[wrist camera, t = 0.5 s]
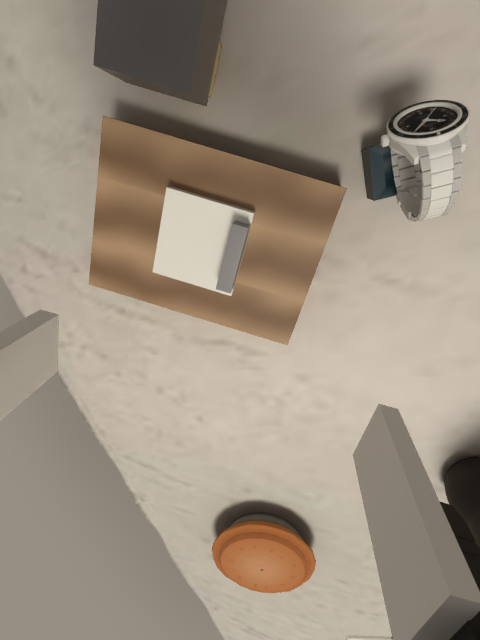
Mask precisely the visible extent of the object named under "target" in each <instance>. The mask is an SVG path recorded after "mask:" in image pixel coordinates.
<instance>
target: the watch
mask: <svg viewBox="0 0 480 640" xmlns="http://www.w3.org/2000/svg"><path fill="white" fill-rule="evenodd" d="M469 117H470V112H469V110H468V108H467V107H466V106H464V105H463V104H461V103H458V102H455V101H449V100H433V101H426V102H421V103H417V104H414V105H411V106H408V107H406V108H404V109H402V110H400V111H398V112H397V113H395V114H394V115H393V116H392V117H391V118H390V119H389V120H388V122H387V134H385V135H381V144H379V145H377V146H376V145H375V146H372V147H370V148H367V149H363V150H361V152H362V160H363V168H364V176H365V184H366V192H367V198H368V199H371V200H374V201H375V200H379V199H383V198H387V197H391V196H395V195H397V196H396V197H397V200H398V201H397V202H398V205H400V207H401V209H402V211H403V212H404V214H405V215H406V217H407V218H408V220H409V221H415V222H417V221H421V220H426V219H430V218H434V217H438V216H443V215H446V214H448V213H449V212H450V210H451V209H452V208H453V206H454V204H455V202H456V200H457V197H458V194H459V189H460V184H461V175H462V162H461V161H462V152H464V151H465V149H466V141H467V123H468V121H469ZM458 162H460V163H458ZM454 163H456V164H454Z"/></svg>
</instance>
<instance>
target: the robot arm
mask: <svg viewBox="0 0 480 640" xmlns="http://www.w3.org/2000/svg"><path fill="white" fill-rule="evenodd" d="M58 326H59V315H58V314H55V313H51V312H47V311H44V310H39V311H37V312H35V313H33V314H32V315H30V316H28V317H26V318H24V319H23V320H21V321H19V322H17V323H15V324H14V325H12V326H10V327H8V328H6V329H5V330H3V331H1V332H0V420H2V419H3V418H4V417H5V416H6V415H7V414H9V413H10V412H11V411H12V410H13V409H14V408H15V407H17V406H18V405H19V404H20V403H21V402H22V401H24V400H25V399H26V398H27V397H28V396H29V395H30V394H32V393H33V392H34V391H35V390H36V389H38V388H39V387H40V386H41V385H42V384H43V383H44V382H46V381H47V380H48V379H49V378H50V377H52V376H53V375H54V374H55V373H56V372H57V371H58ZM353 457H354V462H355V467H356V471H357V476H358V480H359V485H360V490H361V494H362V499H363V504H364V508H365V513H366V517H367V522H368V527H369V531H370V536H371V541H372V545H373V550H374V554H375V559H376V564H377V568H378V573H379V577H380V582H381V587H382V591H383V596H384V601H385V605H386V610H387V614H388V619H389V624H390V628H391V633H392V637H393V640H480V548H479V546H478V545H476V540H475V538H474V536H473V534H472V532H471V530H470V528H469V526H468V524H467V523H466V521H465V520H464V519H463V518H462V516H461V515H460V514H459V513H458V512H457V510H456V509H455V508H454V507H453V506H452V505H449V504H446V503H442V502H439V500H438V497H437V495H436V493H435V491H434V488H433V486H432V484H431V482H430V479H429V477H428V475H427V473H426V471H425V468H424V466H423V464H422V462H421V459H420V457H419V455H418V453H417V450H416V448H415V446H414V444H413V441H412V439H411V437H410V435H409V433H408V430H407V428H406V426H405V424H404V421H403V419H402V417H401V415H400V412H399V410H398V409H396V408H392V407H388V406H385V405H381V404H378V406H377V408H376V410H375V412H374V414H373V416H372V418H371V420H370V422H369V424H368V426H367V428H366V430H365V432H364V434H363V436H362V438H361V440H360V442H359V444H358V446H357V448H356V450H355V452H354V454H353Z"/></svg>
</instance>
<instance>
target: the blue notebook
mask: <svg viewBox="0 0 480 640" xmlns="http://www.w3.org/2000/svg"><path fill="white" fill-rule="evenodd" d="M346 640H393V637H385V636H359V635H348V636H346Z"/></svg>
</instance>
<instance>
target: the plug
mask: <svg viewBox="0 0 480 640" xmlns="http://www.w3.org/2000/svg"><path fill="white" fill-rule="evenodd" d="M226 4H227V0H98V9H97V24H96V38H95V53H94V66H96V67H98V68H100V69H102V70H104V71H106V72H108V73H110V74H111V75H113V76H115V77H117V78H119V79H121V80H123V81H125V82H127V83H130V84H133V85H137V86H140V87H143V88H147V89H150V90H153V91H157V92H160V93H163V94H167V95H170V96H174V97H177V98H180V99H184V100H187V101H190V102H194V103H197V104H201V105H204V106H207V102H208V97H210V98H211V97H212V91H213V86H214V81H215V76H216V71H217V66H218V61H219V56H220V51H221V44H220V42H219V40H220V34H221V29H222V24H223V19H224V14H225V9H226Z"/></svg>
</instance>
